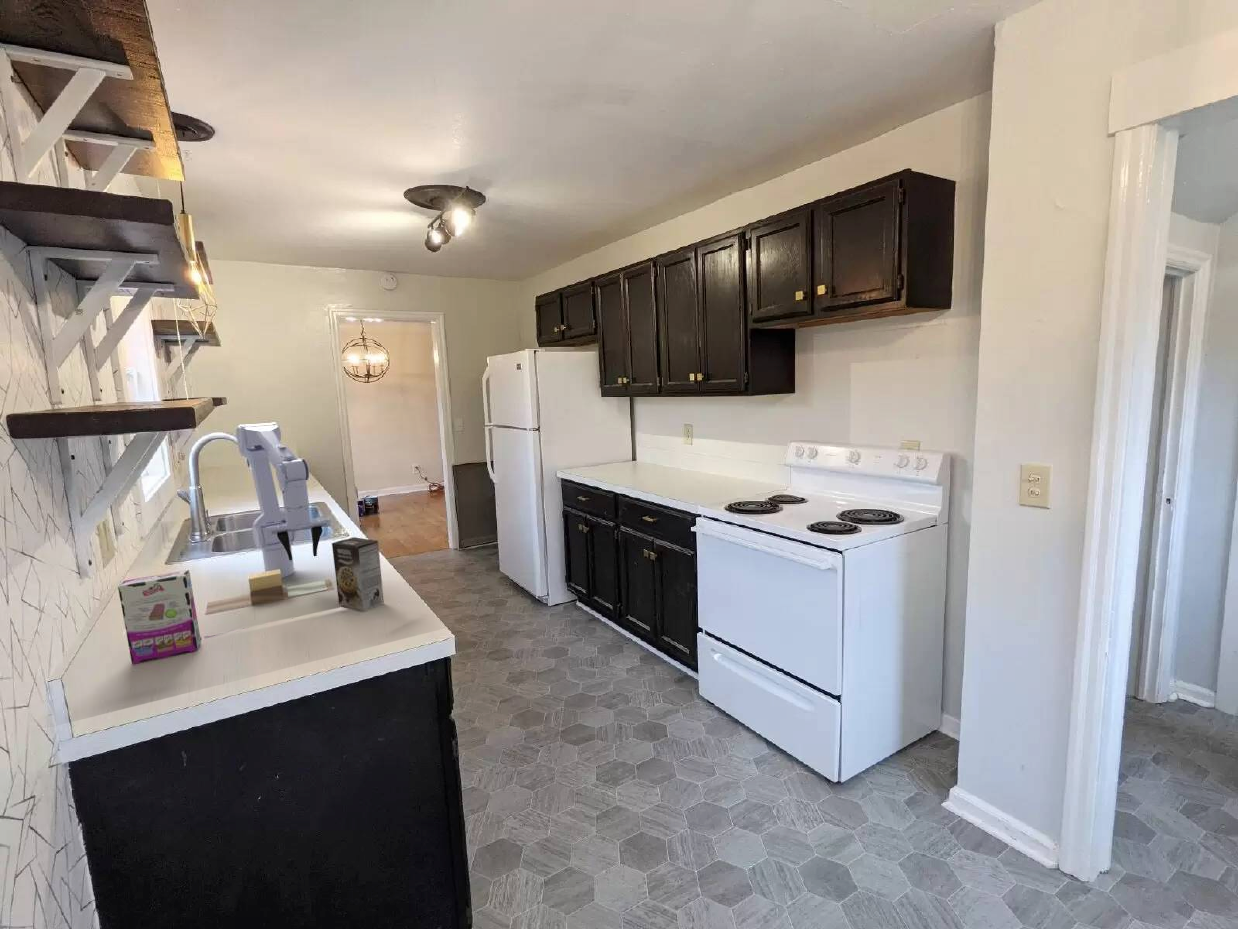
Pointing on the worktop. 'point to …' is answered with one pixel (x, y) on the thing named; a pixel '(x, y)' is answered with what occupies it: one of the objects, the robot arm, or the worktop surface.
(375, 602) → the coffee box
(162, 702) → the worktop surface
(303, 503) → the robot arm
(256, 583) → the ochre block
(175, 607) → the candy bar box
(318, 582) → the pocket board
